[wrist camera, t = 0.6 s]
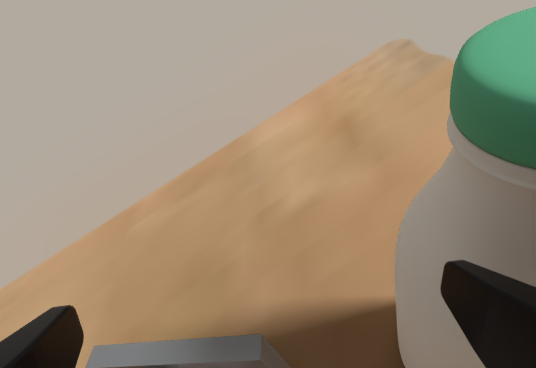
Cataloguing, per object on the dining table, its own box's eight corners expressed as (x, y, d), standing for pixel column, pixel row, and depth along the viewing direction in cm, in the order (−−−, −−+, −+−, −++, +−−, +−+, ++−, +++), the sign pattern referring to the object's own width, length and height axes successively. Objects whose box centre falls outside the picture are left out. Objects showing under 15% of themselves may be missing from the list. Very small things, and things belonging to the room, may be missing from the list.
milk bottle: (402, 416, 18) (390, 197, 5) (394, 290, 23) (376, 12, 10) (569, 446, 16) (1547, 147, 2) (519, 297, 21) (729, -73, 7)
